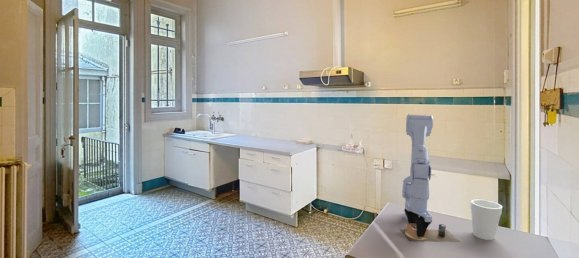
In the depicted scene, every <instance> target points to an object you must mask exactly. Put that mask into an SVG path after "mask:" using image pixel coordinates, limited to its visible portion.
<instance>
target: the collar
mask: <svg viewBox="0 0 579 258" xmlns="http://www.w3.org/2000/svg"><path fill="white" fill-rule="evenodd" d="M412 224H416V223H406V228H405V229H406V231H407V232H408V233H409V234H410V235H411V236H412V237H413V238H427V236H428V230H429V229H428V228H427V230H426V232H425V235H424V237H418V236H417V229H414V228H413V227H412Z"/></svg>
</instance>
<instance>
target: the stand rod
mask: <svg viewBox="0 0 579 258" xmlns="http://www.w3.org/2000/svg"><path fill="white" fill-rule="evenodd" d="M446 228H447V226H446V225H445V224H442V223H440V224H438V229H437V230H438V235H439V236H441V237H445V230H447V229H446Z"/></svg>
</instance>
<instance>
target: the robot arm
mask: <svg viewBox="0 0 579 258" xmlns="http://www.w3.org/2000/svg"><path fill="white" fill-rule="evenodd" d="M405 121H406V122H405V132H406V135H407V136H409V137H410V138H411V139H410V140H411V157H410V158H411V159H410V161H411V162H410V168H409V176H407V177H405V178H404V180H403V182H402V183H403V184H402V194H401V196H402V198H403V199H405V202H404V203H405V204H404V210H403V212H404V219H405V220H406V221H407V222H408V223H416V227H417V236H418V237H424V235H425V232H426V230H427V229H428V227H430V225H431V224H432V223H433V216H432V215H431V214H430V212H429V210H428V209H427V208H428V201H429V199H430V183H429V181H430V180H431V178H432V165H431V161H430V152H429V148H428V147H427V146H426V140H427V137H429V136H431V134H432V130H433V128H434V117H433V115H432V114H409V113H408V114H406V120H405Z"/></svg>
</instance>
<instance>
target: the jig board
mask: <svg viewBox="0 0 579 258" xmlns="http://www.w3.org/2000/svg"><path fill="white" fill-rule="evenodd" d="M399 230H400V232H401V233H402V234H403V236H404V237H405V238H406V239H407V240H408V241H409V242H436V243H437V242H441V243H443V242H445V243H461V241H460V240H459V239H458V238H457V237H456V236H454V235H453V233H452V232H450V231H449V230H447V229H446V230H445V237H441V236H439V235H438V230H439V229H428V238H427V239H426V240H415V239H412V238H410V237H408V236H406V235H405V231H406V228H399Z"/></svg>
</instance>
